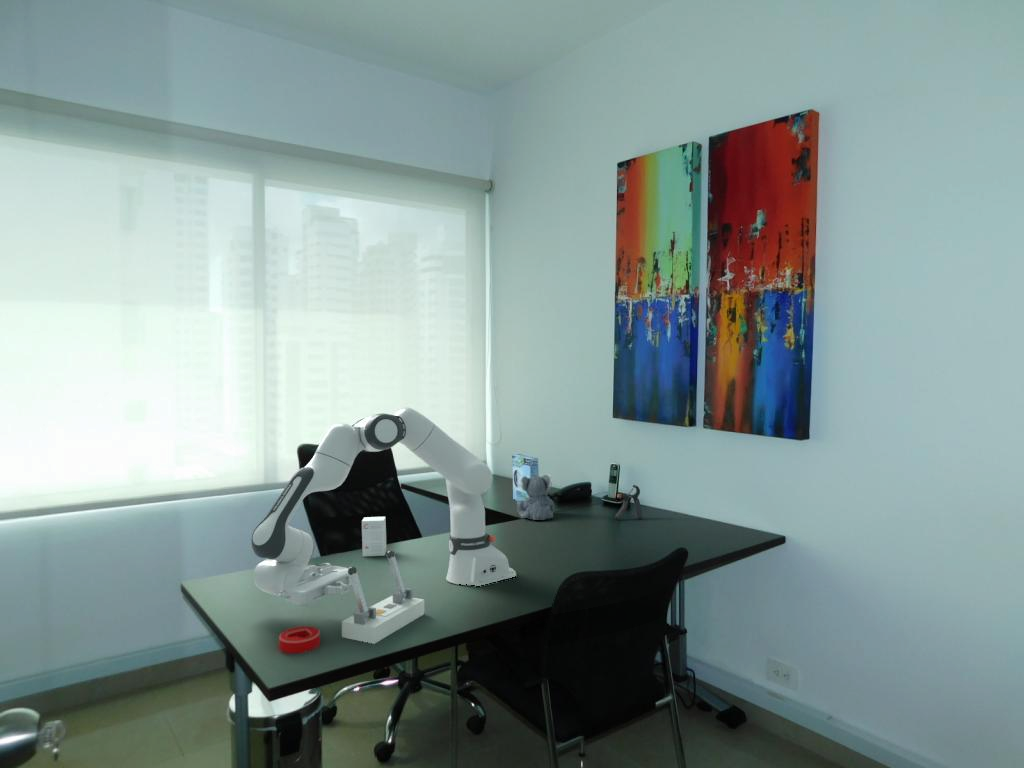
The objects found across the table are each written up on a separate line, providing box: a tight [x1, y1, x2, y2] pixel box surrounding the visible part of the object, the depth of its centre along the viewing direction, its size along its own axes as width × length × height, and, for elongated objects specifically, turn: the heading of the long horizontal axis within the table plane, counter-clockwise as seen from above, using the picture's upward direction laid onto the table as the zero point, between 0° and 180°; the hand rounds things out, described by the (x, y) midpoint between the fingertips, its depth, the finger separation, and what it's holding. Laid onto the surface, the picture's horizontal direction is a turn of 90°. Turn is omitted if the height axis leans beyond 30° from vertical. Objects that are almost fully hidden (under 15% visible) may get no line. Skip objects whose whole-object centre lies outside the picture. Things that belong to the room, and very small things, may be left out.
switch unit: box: [341, 587, 425, 645], centre depth 177 cm, size 22×10×6 cm, turn 153°
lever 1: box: [348, 566, 372, 619], centre depth 170 cm, size 3×2×13 cm
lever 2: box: [386, 550, 409, 599], centre depth 184 cm, size 3×2×13 cm
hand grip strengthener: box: [614, 484, 643, 520], centre depth 294 cm, size 2×12×15 cm, turn 101°
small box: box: [361, 516, 387, 557], centre depth 244 cm, size 8×6×13 cm
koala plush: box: [516, 473, 556, 521], centre depth 300 cm, size 17×18×20 cm
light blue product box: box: [511, 453, 540, 502], centre depth 334 cm, size 20×5×23 cm, turn 27°
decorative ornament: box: [278, 626, 321, 654], centre depth 164 cm, size 10×10×3 cm
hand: (345, 590), depth 172 cm, fingers closed
